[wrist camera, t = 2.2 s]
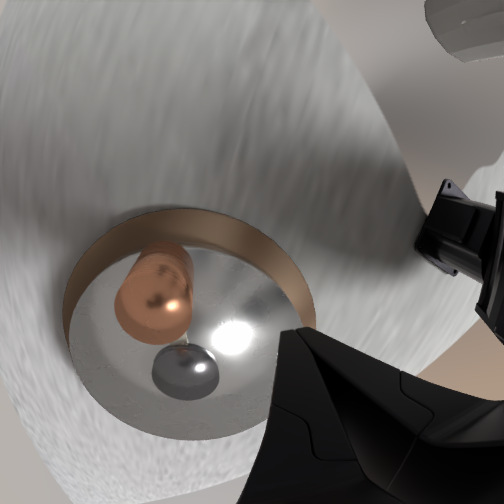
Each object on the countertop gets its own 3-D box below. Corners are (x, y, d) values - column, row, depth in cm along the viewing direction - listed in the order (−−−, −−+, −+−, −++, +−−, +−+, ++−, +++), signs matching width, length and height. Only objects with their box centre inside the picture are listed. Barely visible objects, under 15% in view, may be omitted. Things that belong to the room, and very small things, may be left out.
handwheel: (294, 406, 22) (319, 468, 16) (117, 422, 20) (106, 485, 14) (295, 217, 17) (347, 251, 11) (52, 245, 15) (-7, 289, 9)
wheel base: (354, 273, 21) (362, 279, 20) (246, 436, 24) (248, 445, 23) (108, 163, 16) (102, 163, 15) (56, 376, 19) (52, 385, 18)
